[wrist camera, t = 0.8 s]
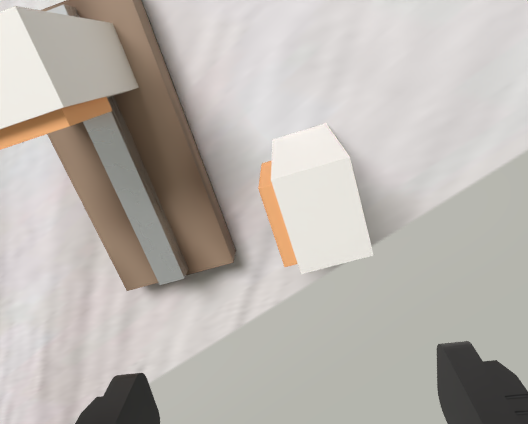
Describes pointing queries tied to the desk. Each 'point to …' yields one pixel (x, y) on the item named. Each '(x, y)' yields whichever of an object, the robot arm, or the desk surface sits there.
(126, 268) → the rail
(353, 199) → the white block with pad
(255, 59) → the desk surface
